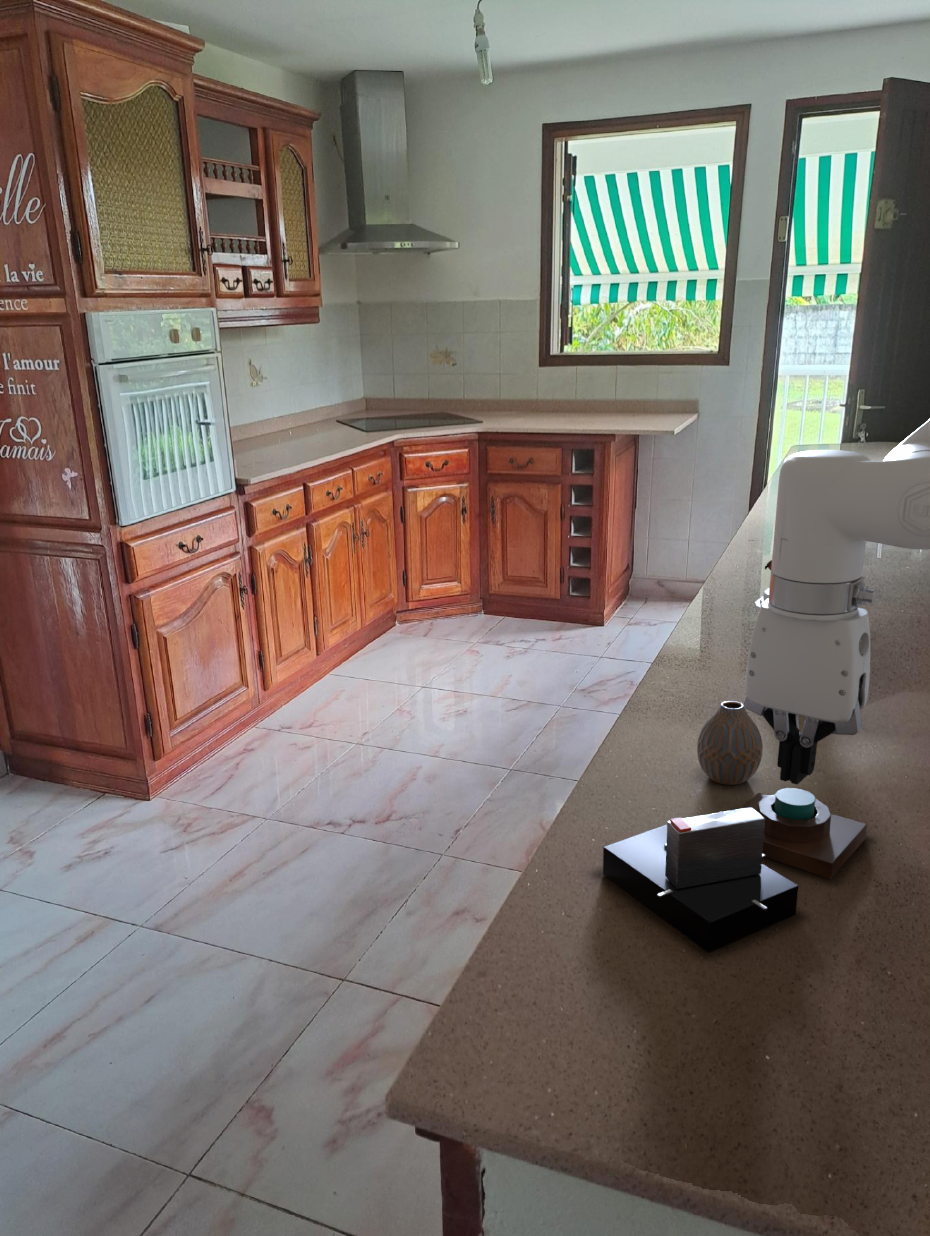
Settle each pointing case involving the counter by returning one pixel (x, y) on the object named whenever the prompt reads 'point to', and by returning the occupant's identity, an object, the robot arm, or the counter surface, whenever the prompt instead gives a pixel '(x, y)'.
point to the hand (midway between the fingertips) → (794, 777)
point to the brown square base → (808, 837)
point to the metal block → (714, 847)
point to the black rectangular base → (699, 893)
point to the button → (794, 804)
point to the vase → (730, 745)
